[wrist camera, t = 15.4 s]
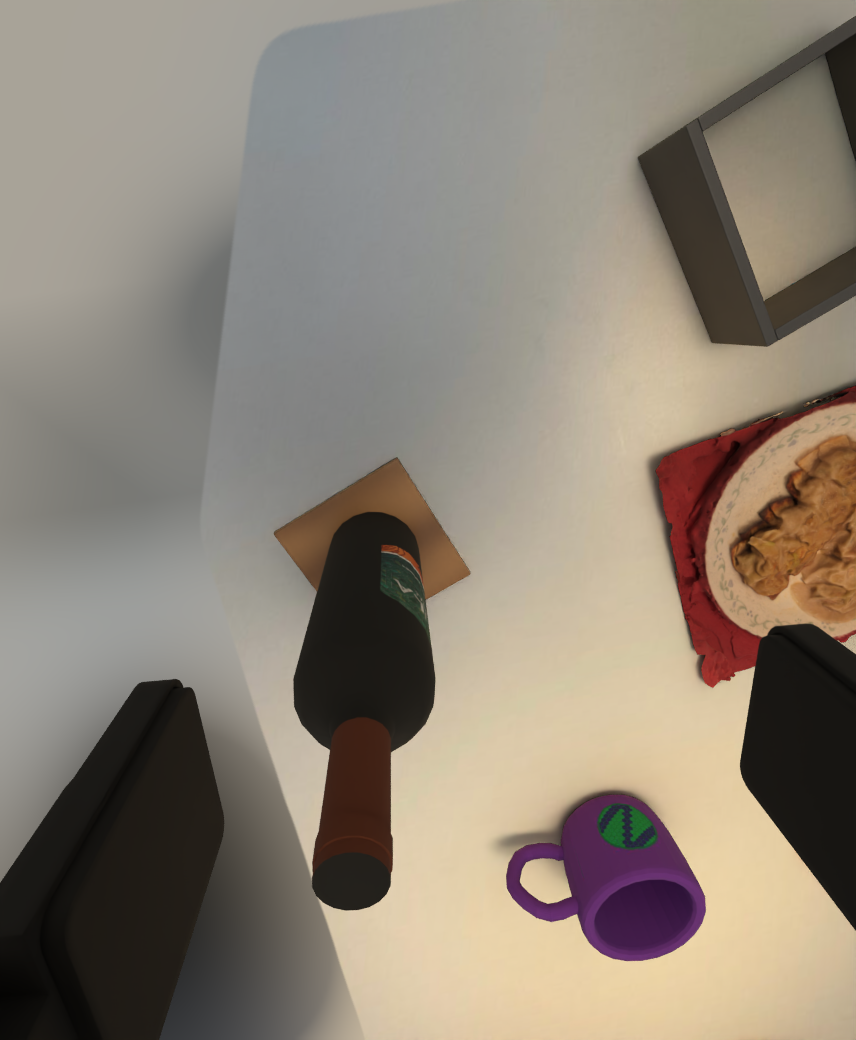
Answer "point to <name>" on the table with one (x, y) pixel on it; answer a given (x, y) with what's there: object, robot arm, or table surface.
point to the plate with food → (765, 531)
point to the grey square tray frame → (711, 227)
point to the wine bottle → (363, 697)
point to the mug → (618, 880)
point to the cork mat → (375, 494)
